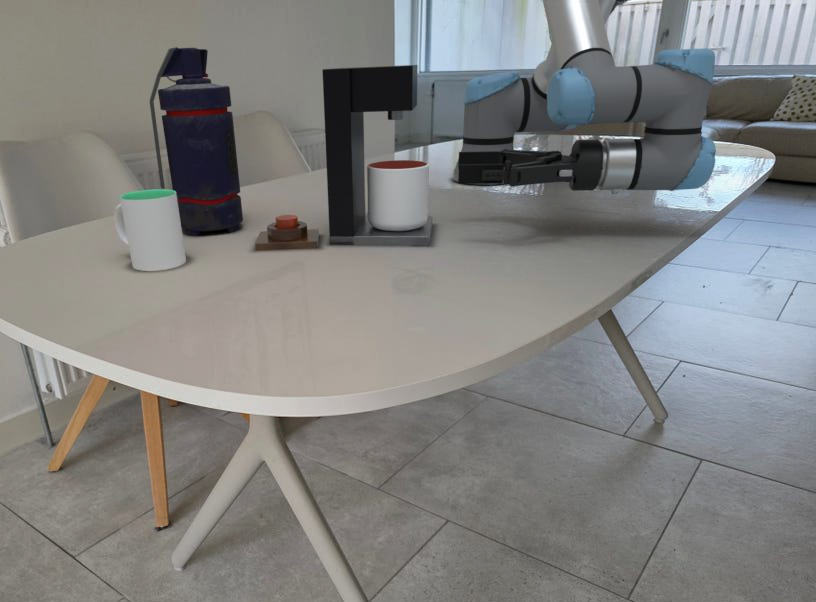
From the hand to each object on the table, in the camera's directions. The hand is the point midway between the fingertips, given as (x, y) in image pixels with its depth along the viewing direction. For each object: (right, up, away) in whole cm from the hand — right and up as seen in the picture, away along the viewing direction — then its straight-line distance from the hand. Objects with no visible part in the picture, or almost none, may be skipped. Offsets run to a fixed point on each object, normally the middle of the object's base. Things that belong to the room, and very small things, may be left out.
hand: (458, 166), depth 99 cm
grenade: (-43, -7, +15) cm, 47 cm away
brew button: (-28, -9, +3) cm, 29 cm away
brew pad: (-27, -11, +4) cm, 30 cm away
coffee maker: (-11, -9, +7) cm, 16 cm away
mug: (-48, -16, -3) cm, 51 cm away
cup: (-9, -8, +6) cm, 14 cm away
